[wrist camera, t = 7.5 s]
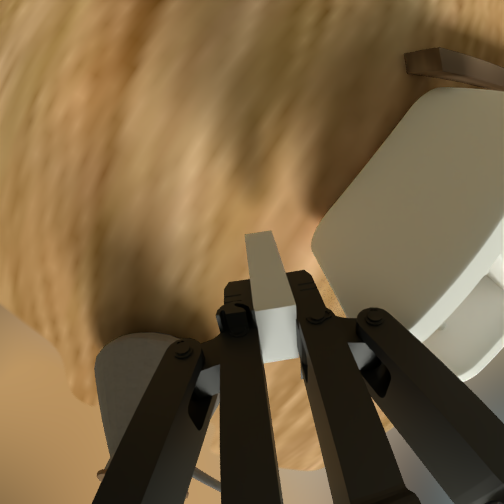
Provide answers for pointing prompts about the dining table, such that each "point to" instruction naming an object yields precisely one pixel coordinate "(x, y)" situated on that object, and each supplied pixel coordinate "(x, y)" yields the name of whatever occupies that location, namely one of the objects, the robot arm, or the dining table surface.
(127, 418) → the coffee pot
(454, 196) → the cable organizer
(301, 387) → the dining table surface
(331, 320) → the robot arm
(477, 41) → the dining table surface
